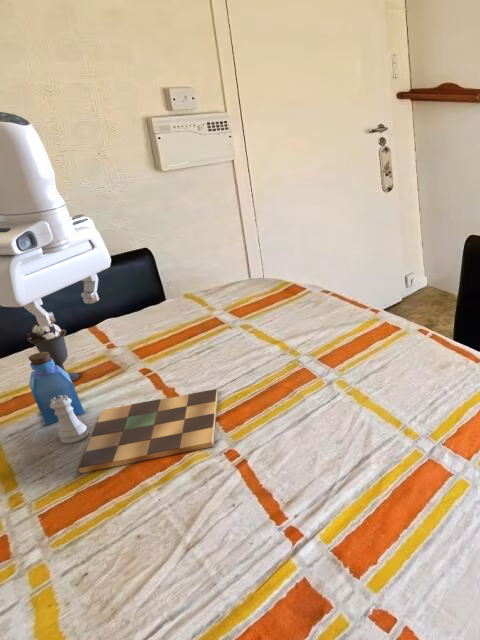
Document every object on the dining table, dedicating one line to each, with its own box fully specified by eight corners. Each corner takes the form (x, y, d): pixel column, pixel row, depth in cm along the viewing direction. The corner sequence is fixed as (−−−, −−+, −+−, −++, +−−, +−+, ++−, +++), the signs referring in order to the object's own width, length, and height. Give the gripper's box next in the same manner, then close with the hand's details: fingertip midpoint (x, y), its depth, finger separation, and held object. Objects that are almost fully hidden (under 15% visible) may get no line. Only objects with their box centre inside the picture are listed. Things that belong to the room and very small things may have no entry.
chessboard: (80, 473, 101) (78, 468, 100) (103, 414, 117) (101, 409, 117) (213, 446, 107) (211, 441, 106) (217, 393, 123) (216, 389, 123)
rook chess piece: (95, 434, 111) (79, 395, 107) (69, 447, 108) (51, 407, 104) (81, 428, 113) (65, 389, 109) (55, 440, 110) (38, 401, 106)
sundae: (80, 368, 135) (54, 303, 128) (86, 379, 130) (59, 312, 123) (44, 378, 131) (15, 312, 124) (49, 389, 127) (19, 321, 120)
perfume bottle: (46, 424, 115) (20, 366, 109) (41, 411, 119) (16, 355, 113) (84, 412, 118) (61, 356, 112) (79, 400, 122) (56, 345, 117)
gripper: (71, 211, 104) (99, 290, 110) (-41, 246, 86) (0, 337, 93) (105, 211, 103) (131, 291, 109) (-1, 246, 85) (38, 339, 92)
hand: (71, 312), depth 101 cm, fingers open, 8 cm apart
